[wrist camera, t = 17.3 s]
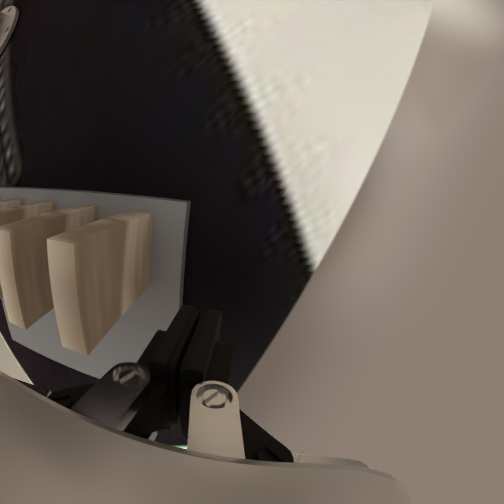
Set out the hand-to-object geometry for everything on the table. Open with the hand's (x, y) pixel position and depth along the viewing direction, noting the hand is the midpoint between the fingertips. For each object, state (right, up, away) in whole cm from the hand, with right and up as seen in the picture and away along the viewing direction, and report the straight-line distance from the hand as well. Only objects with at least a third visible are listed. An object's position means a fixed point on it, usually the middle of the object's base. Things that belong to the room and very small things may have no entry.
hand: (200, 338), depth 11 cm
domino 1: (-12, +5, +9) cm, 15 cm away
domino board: (-16, 0, +12) cm, 20 cm away
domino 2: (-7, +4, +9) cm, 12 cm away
